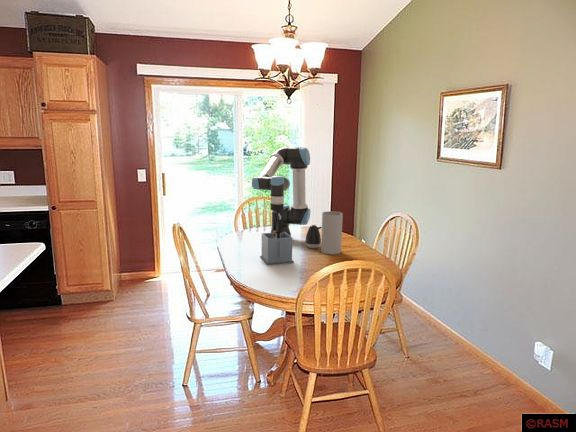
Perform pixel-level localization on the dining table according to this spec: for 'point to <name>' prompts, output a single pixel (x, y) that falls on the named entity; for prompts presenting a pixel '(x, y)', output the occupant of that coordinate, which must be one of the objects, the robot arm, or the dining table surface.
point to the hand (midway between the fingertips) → (276, 242)
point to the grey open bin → (276, 249)
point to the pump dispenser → (313, 237)
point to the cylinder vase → (331, 232)
